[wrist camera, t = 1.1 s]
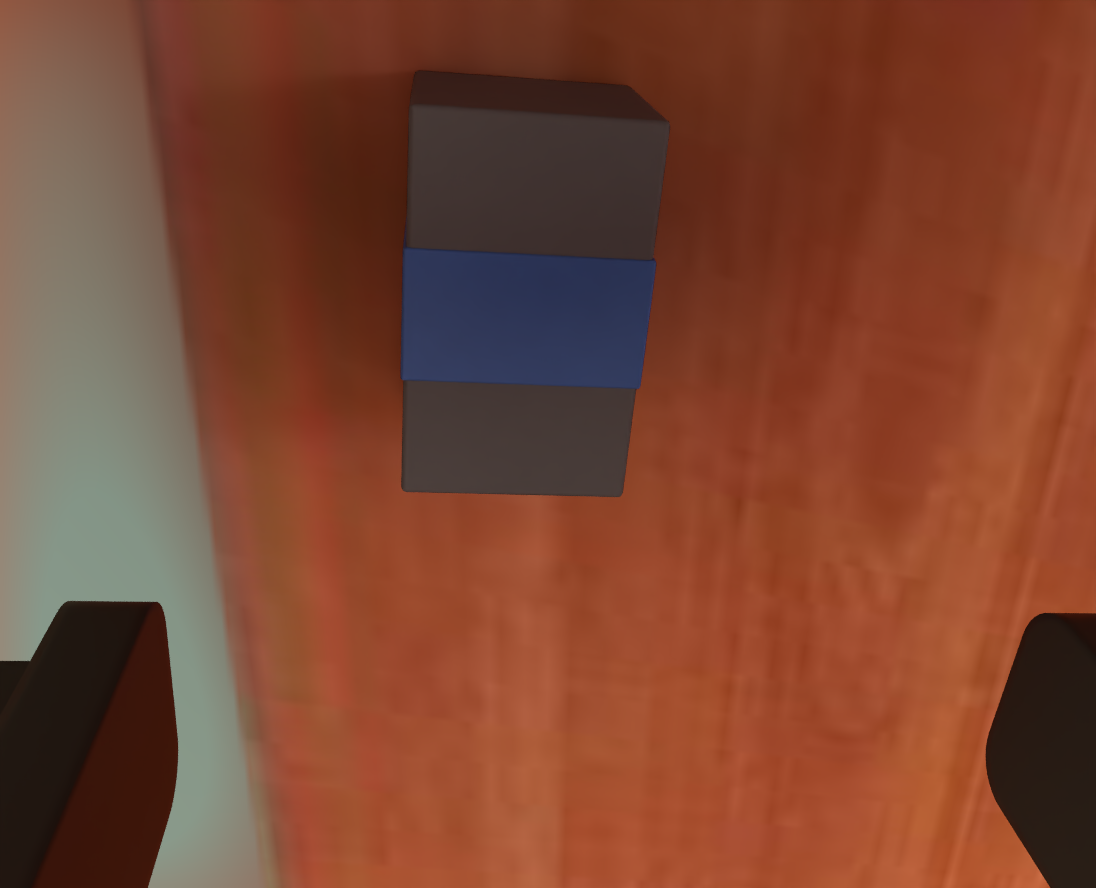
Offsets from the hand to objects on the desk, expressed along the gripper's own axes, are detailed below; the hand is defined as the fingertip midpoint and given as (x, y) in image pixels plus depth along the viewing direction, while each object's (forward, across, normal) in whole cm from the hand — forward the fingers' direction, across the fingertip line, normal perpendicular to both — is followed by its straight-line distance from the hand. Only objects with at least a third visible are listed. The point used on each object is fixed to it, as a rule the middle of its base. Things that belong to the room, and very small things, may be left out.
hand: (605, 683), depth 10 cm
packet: (+14, 0, 0) cm, 14 cm away
